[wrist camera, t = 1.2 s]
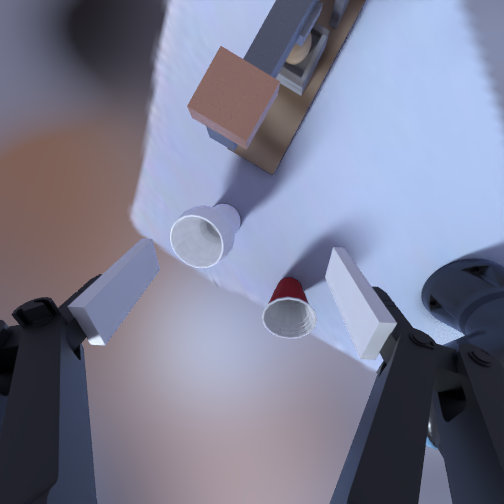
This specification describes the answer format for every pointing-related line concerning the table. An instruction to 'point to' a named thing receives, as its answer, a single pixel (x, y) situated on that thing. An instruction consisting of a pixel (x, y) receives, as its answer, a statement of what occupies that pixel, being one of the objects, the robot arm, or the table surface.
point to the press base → (301, 84)
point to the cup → (205, 234)
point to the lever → (251, 75)
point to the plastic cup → (289, 311)
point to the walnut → (299, 52)
